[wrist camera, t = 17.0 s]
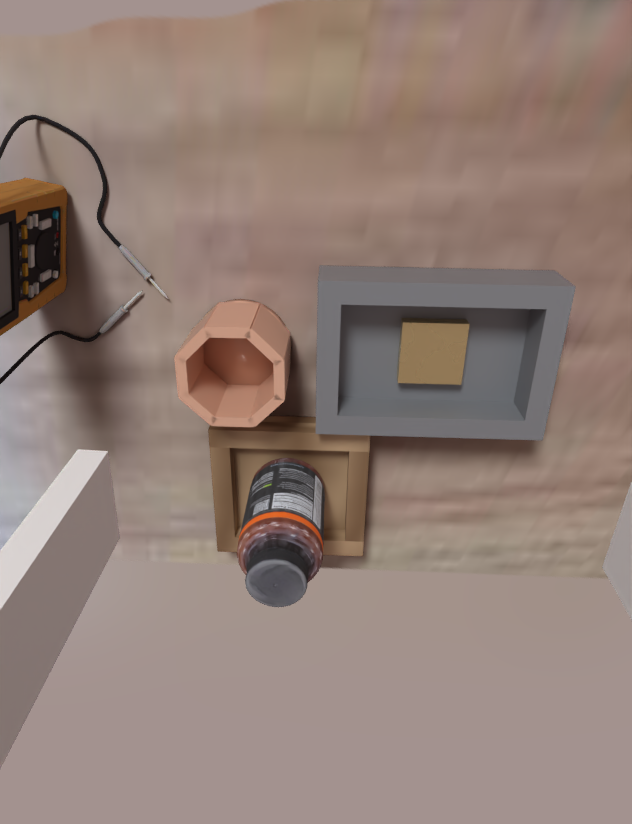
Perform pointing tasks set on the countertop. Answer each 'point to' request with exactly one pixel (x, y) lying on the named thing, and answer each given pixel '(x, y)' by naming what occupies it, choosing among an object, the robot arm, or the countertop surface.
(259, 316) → the empty cup
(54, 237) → the multimeter
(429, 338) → the pad
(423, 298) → the tray
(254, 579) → the supplement bottle
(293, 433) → the square wooden tray
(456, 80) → the countertop surface
